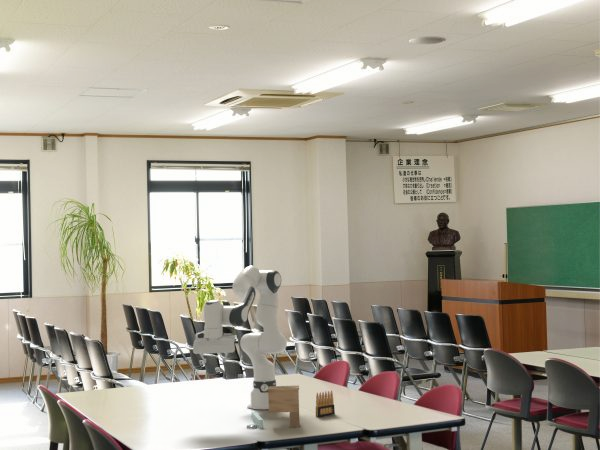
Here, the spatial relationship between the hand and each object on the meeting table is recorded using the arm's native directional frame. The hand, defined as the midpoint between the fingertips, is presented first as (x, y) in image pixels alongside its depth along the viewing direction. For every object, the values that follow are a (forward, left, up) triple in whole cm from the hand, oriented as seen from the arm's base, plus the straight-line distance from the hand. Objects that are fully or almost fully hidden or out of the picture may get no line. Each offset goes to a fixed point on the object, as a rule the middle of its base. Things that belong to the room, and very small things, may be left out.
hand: (214, 362), depth 433 cm
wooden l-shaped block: (+15, +33, -29) cm, 46 cm away
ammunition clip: (-7, +53, -29) cm, 61 cm away
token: (+16, +18, -29) cm, 38 cm away
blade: (+7, +20, -29) cm, 36 cm away
